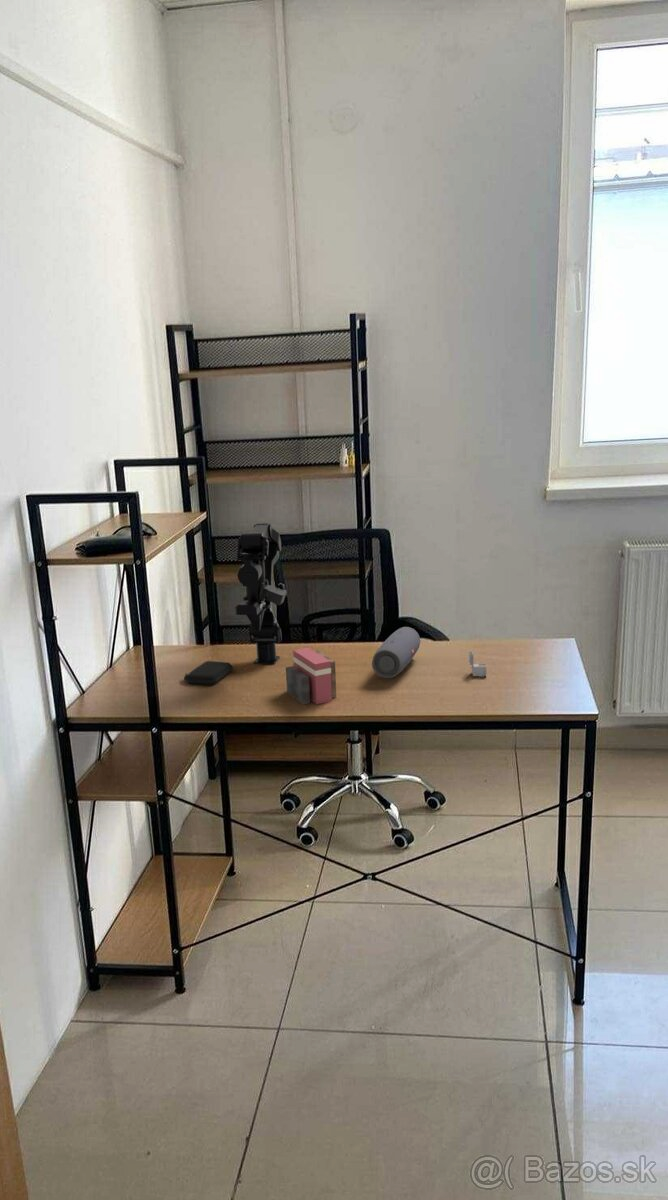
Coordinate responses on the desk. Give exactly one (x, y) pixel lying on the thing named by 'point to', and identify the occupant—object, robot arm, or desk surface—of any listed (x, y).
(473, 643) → the desk surface
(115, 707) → the desk surface
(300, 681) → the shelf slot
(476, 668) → the architectural model
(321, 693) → the book
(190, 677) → the carrying case or bag
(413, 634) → the bluetooth speaker
